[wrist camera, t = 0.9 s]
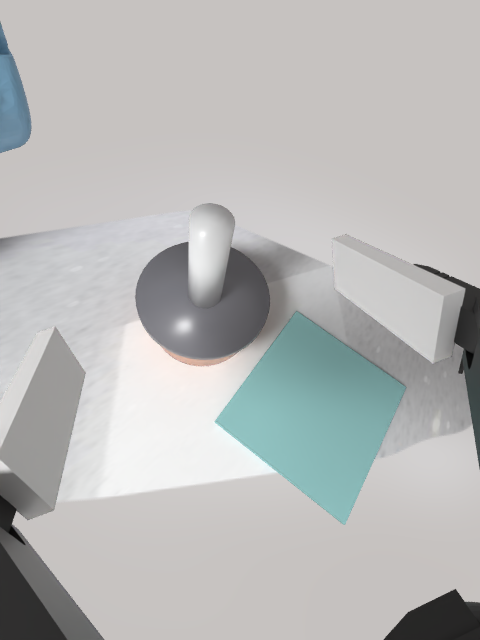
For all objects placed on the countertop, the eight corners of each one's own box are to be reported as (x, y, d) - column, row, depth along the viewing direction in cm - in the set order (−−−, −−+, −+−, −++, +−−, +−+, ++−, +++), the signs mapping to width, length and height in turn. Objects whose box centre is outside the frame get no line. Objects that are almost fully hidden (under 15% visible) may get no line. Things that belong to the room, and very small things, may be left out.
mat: (214, 421, 31) (214, 421, 31) (295, 312, 38) (296, 310, 38) (342, 524, 29) (344, 524, 29) (404, 388, 36) (406, 387, 36)
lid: (106, 304, 29) (67, 222, 20) (195, 226, 35) (198, 134, 26) (215, 388, 28) (231, 343, 18) (291, 292, 33) (333, 219, 24)
